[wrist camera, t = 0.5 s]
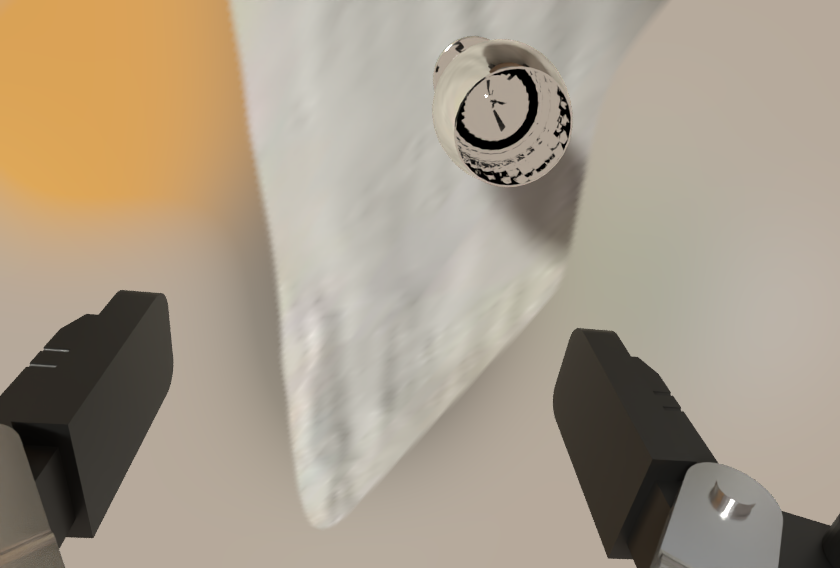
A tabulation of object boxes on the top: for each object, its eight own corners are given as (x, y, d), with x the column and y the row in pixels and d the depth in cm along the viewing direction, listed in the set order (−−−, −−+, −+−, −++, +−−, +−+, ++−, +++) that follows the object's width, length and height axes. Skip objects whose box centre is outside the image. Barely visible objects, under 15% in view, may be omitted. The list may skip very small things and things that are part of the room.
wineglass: (402, 94, 33) (410, 152, 22) (459, 0, 30) (498, 15, 20) (482, 147, 34) (525, 225, 24) (542, 62, 32) (618, 106, 22)
